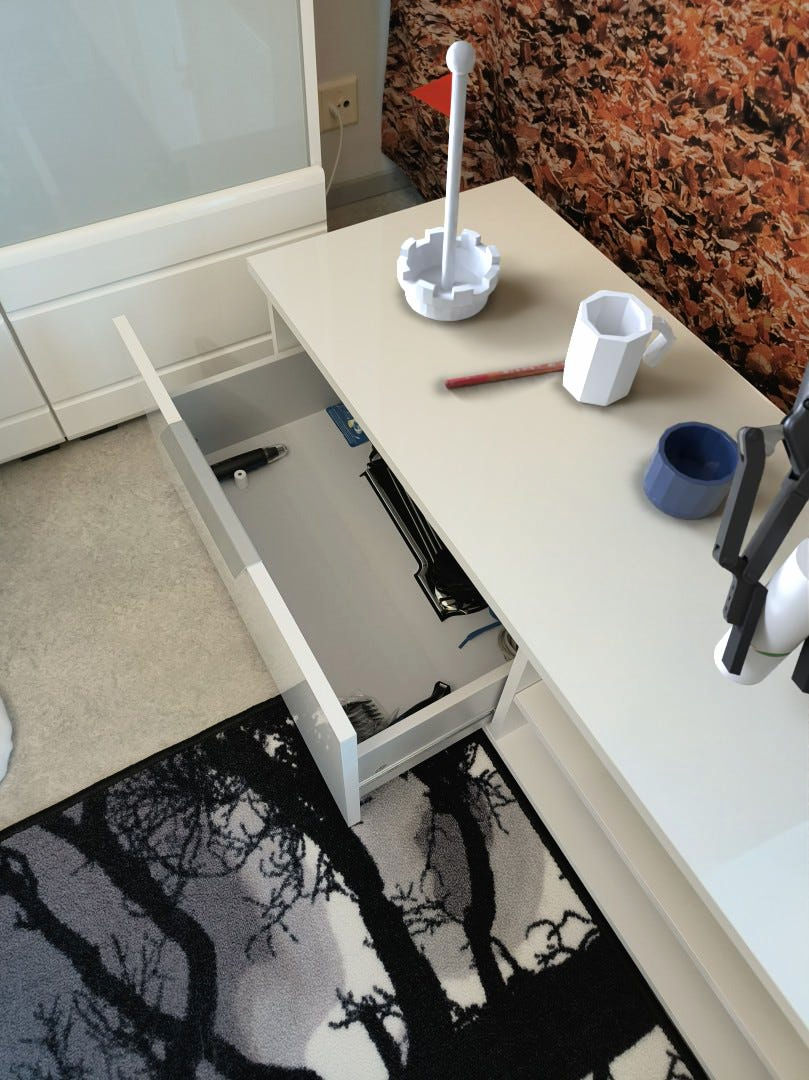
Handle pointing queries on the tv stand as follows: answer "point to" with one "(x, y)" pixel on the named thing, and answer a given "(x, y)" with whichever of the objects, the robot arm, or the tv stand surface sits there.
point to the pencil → (505, 374)
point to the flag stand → (449, 220)
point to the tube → (776, 621)
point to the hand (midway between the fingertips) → (766, 676)
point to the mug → (612, 346)
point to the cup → (691, 470)
